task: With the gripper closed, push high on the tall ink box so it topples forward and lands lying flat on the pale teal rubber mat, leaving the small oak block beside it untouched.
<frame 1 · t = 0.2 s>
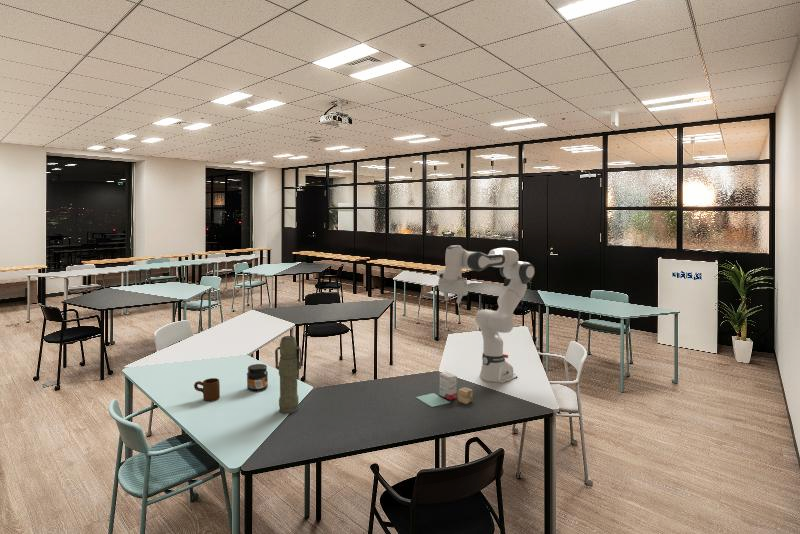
hand: (452, 301, 242), 47 cm above the table, fingers open, 8 cm apart
oak block: (465, 401, 228), on the table
mat: (432, 400, 229), on the table
supplement container: (257, 389, 241), on the table
mug: (207, 399, 226), on the table
ink box: (447, 397, 234), on the table
thermos: (288, 410, 214), on the table
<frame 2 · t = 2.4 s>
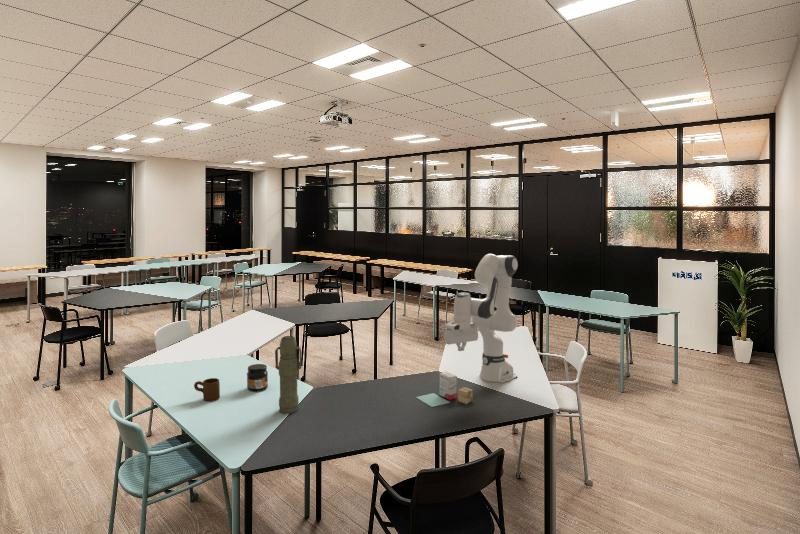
hand: (461, 350, 236), 23 cm above the table, fingers closed
nothing on the table moved.
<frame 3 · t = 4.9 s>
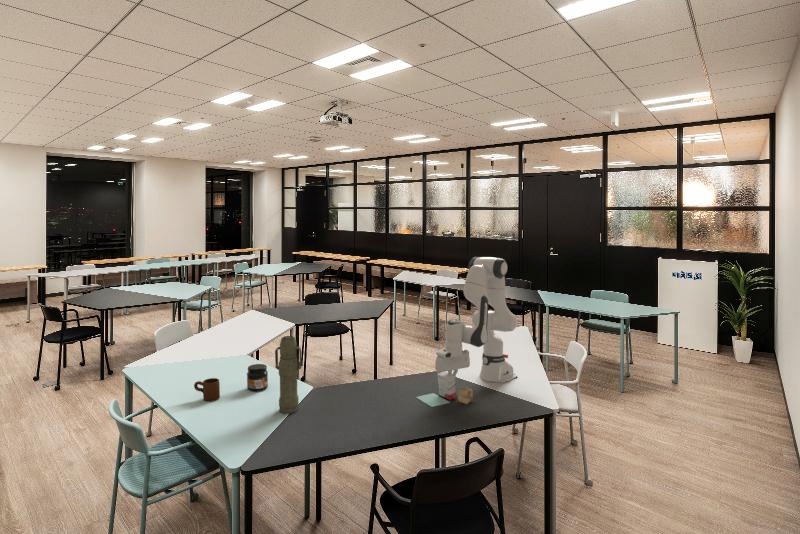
hand: (452, 377, 234), 10 cm above the table, fingers closed
ink box: (447, 396, 234), on the table, touching gripper
everything else where it was.
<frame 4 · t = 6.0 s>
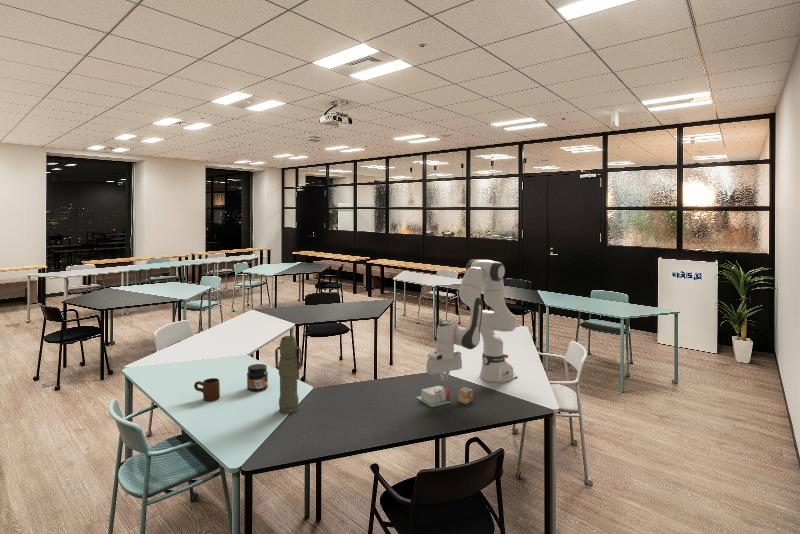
hand: (444, 380, 231), 9 cm above the table, fingers closed
ink box: (444, 392, 232), point 3 cm above the table, touching mat
everything else where it was.
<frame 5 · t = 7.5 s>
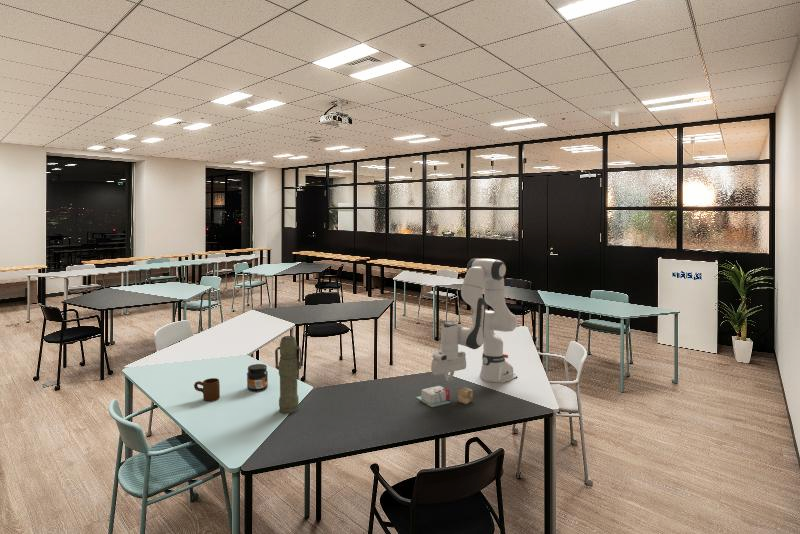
hand: (448, 379, 233), 9 cm above the table, fingers closed
nothing on the table moved.
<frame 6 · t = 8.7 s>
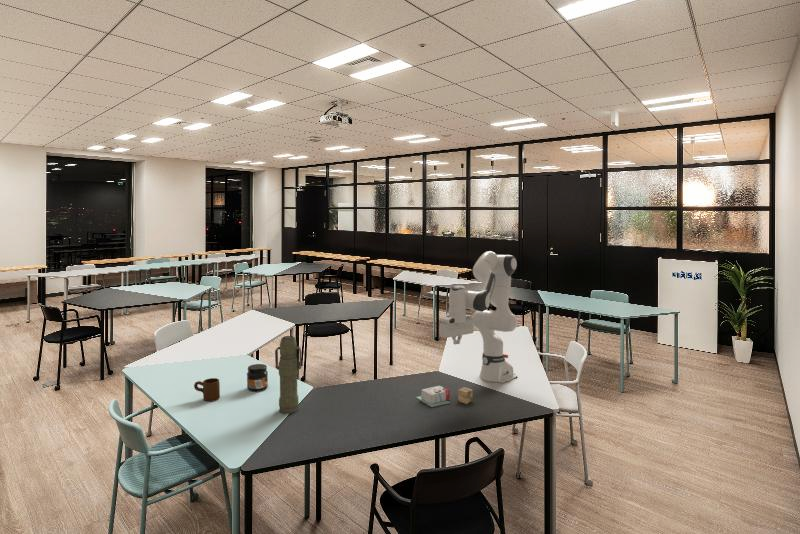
hand: (456, 343, 234), 27 cm above the table, fingers closed
nothing on the table moved.
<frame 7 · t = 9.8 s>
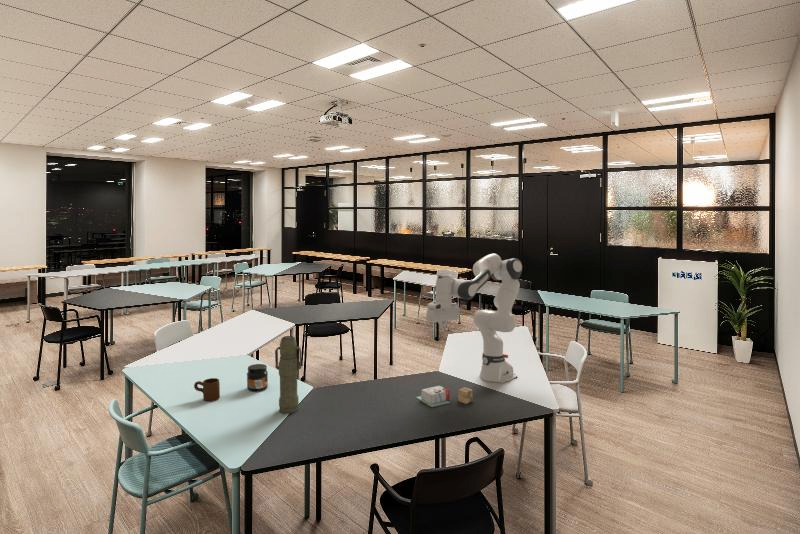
hand: (442, 329, 248), 31 cm above the table, fingers closed
nothing on the table moved.
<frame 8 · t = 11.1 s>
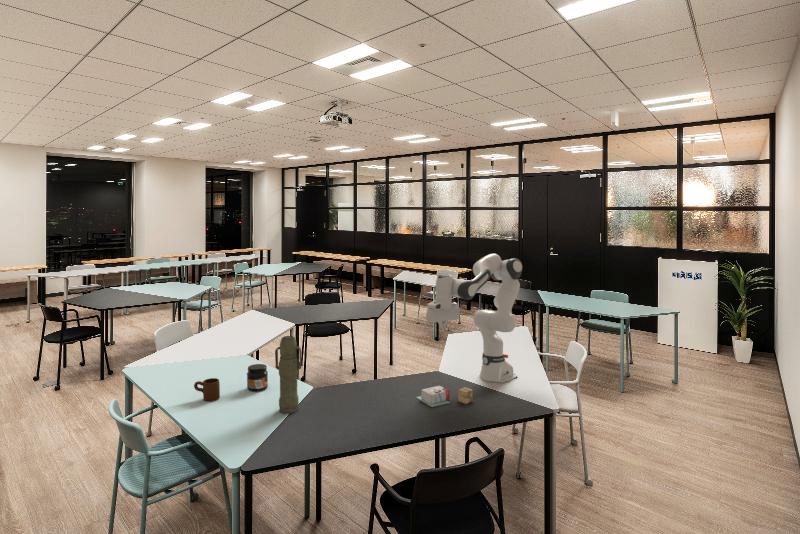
hand: (442, 329, 248), 31 cm above the table, fingers closed
nothing on the table moved.
at the end: ink box tilted 89°; ink box inside the target area (8.1 cm from its centre), point 2.6 cm above the table; oak block moved 0.1 cm from its start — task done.
